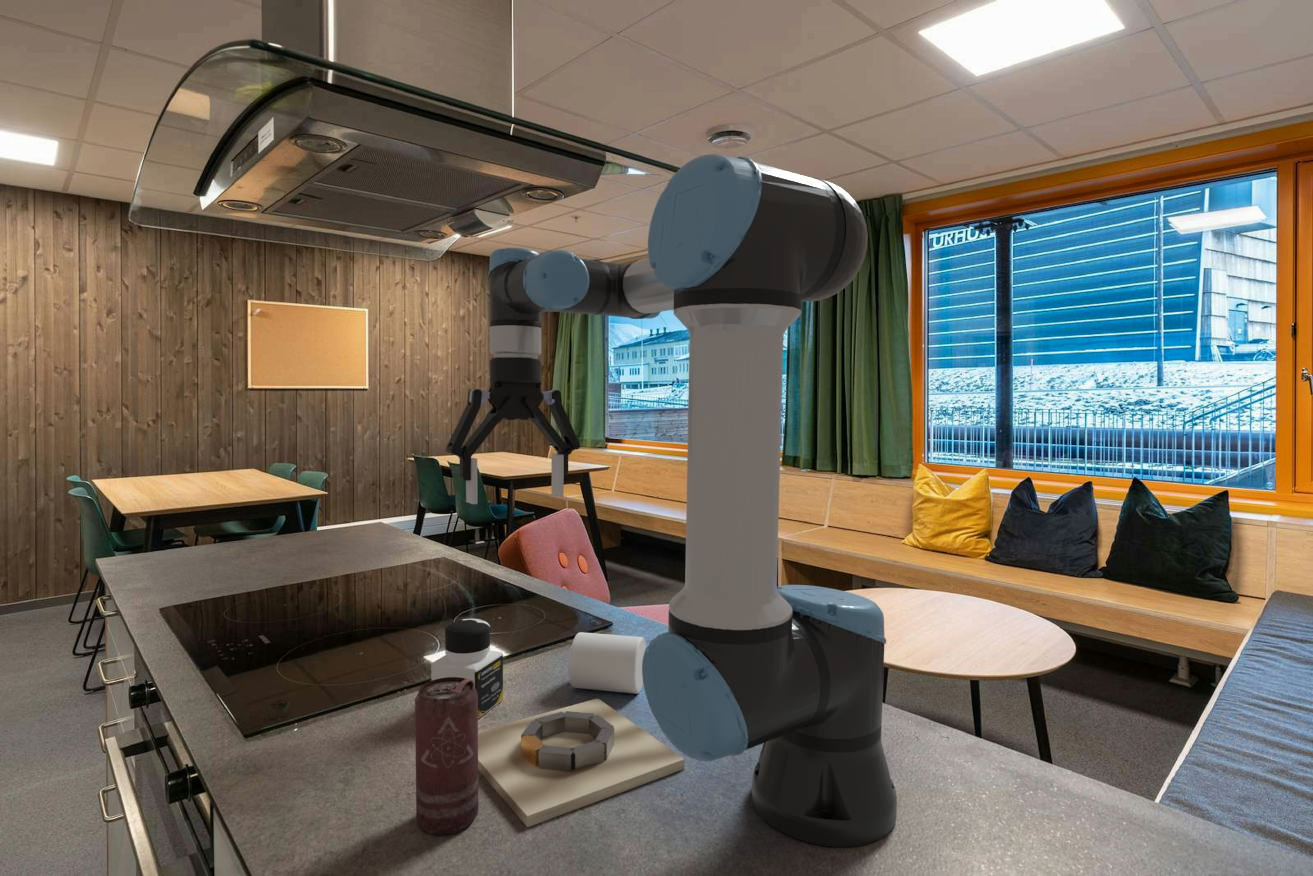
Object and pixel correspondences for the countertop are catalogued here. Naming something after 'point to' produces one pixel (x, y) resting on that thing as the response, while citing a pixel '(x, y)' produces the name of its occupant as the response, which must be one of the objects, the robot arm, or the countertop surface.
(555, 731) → the socket
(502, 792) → the hub board
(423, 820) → the can
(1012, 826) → the countertop surface
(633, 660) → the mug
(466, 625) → the medicine bottle
